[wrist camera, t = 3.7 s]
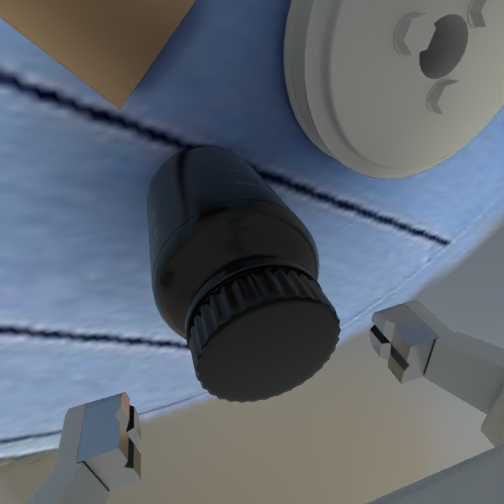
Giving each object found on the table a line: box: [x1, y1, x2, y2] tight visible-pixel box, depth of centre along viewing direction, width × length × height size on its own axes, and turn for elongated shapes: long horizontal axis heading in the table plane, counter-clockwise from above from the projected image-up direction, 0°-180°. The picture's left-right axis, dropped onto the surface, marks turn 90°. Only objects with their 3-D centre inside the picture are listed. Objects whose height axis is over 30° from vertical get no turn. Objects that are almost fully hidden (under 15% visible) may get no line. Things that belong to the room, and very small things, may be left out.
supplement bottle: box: [147, 147, 341, 403], centre depth 15 cm, size 7×7×12 cm
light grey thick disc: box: [284, 0, 504, 179], centre depth 16 cm, size 13×13×5 cm
